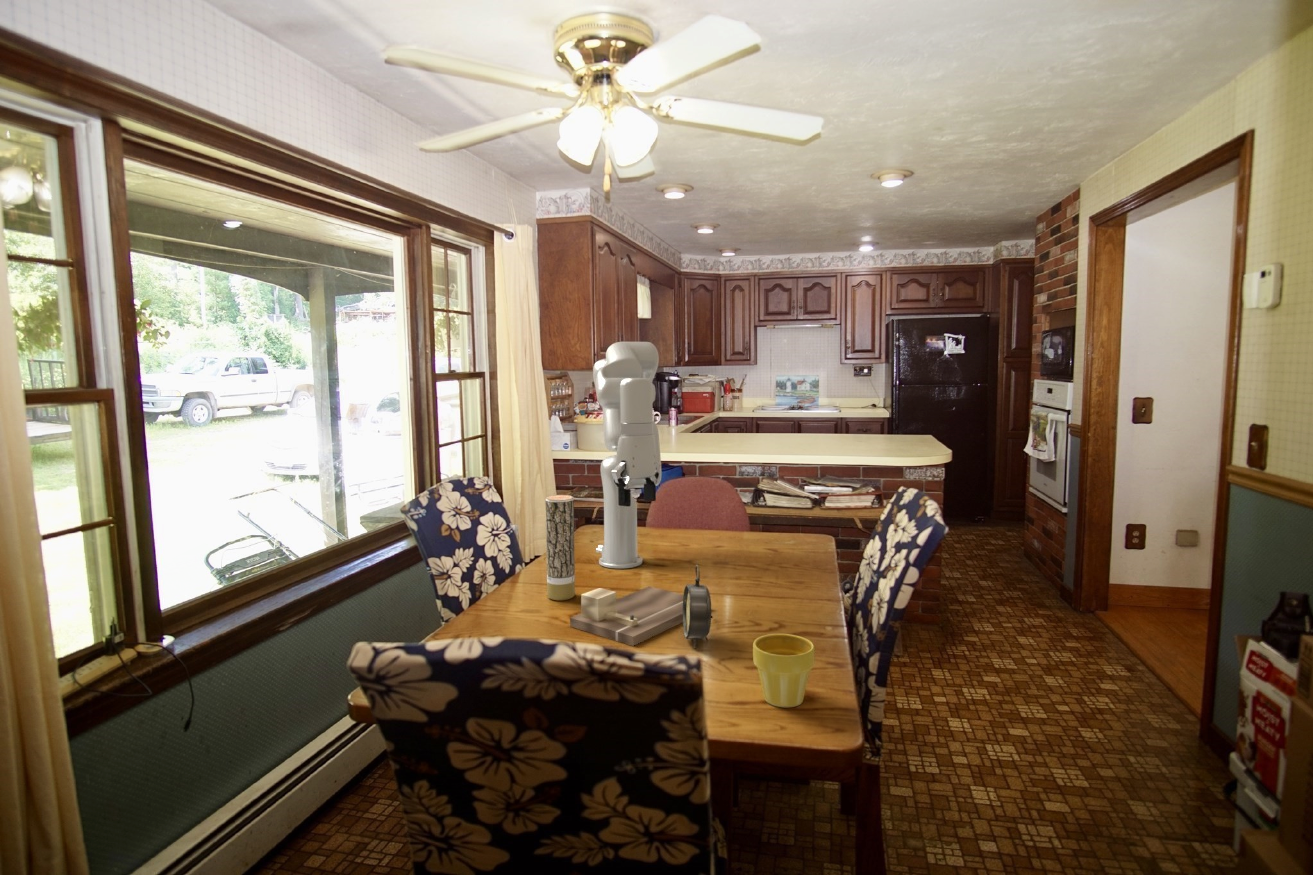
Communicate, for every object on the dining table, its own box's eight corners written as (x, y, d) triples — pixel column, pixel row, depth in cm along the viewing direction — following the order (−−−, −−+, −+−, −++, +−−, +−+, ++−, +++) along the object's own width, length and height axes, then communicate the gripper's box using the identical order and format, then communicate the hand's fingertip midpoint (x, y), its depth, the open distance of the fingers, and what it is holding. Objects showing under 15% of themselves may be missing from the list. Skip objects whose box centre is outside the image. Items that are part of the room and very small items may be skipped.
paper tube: (552, 603, 170) (550, 501, 168) (543, 595, 176) (541, 496, 174) (579, 598, 173) (577, 498, 171) (569, 591, 179) (567, 494, 177)
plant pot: (751, 684, 127) (751, 631, 126) (809, 686, 126) (810, 633, 125) (753, 712, 116) (754, 655, 115) (817, 714, 115) (818, 657, 114)
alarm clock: (681, 632, 151) (681, 558, 150) (706, 631, 152) (706, 557, 150) (687, 652, 141) (688, 573, 139) (714, 651, 141) (715, 572, 139)
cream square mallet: (581, 616, 155) (581, 594, 155) (599, 609, 160) (599, 587, 160) (625, 629, 148) (625, 606, 147) (643, 621, 152) (643, 599, 152)
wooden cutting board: (570, 626, 155) (570, 617, 155) (649, 594, 177) (649, 586, 177) (633, 646, 144) (633, 636, 144) (709, 609, 166) (709, 600, 166)
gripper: (646, 428, 174) (646, 497, 175) (600, 432, 160) (601, 506, 161) (671, 429, 170) (671, 500, 171) (626, 432, 156) (627, 509, 157)
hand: (637, 503), depth 166 cm, fingers open, 9 cm apart
